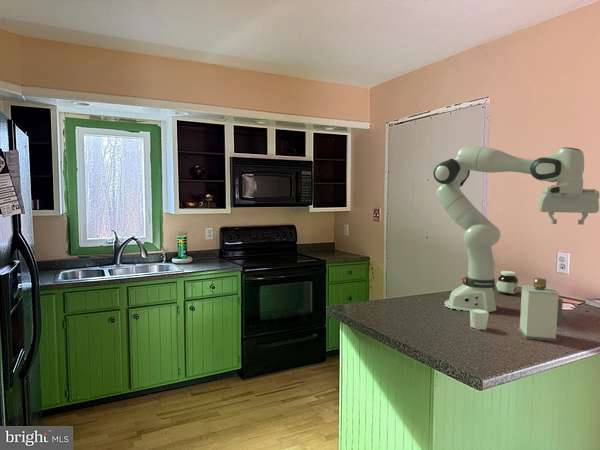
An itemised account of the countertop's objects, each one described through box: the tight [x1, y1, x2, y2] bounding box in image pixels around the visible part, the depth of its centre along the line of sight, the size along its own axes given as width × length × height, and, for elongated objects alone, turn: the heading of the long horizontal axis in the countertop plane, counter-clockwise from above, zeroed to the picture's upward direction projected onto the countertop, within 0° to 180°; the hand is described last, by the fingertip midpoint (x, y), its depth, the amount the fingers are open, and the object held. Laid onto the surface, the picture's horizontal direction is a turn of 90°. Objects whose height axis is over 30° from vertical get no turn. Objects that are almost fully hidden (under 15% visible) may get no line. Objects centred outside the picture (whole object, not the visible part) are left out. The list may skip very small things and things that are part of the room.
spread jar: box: [495, 270, 519, 296], centre depth 221 cm, size 12×11×12 cm
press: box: [518, 284, 564, 343], centre depth 154 cm, size 13×10×18 cm
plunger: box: [533, 277, 547, 290], centre depth 154 cm, size 7×7×20 cm
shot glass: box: [469, 309, 490, 330], centre depth 163 cm, size 7×7×7 cm
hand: (567, 224), depth 164 cm, fingers open, 8 cm apart
